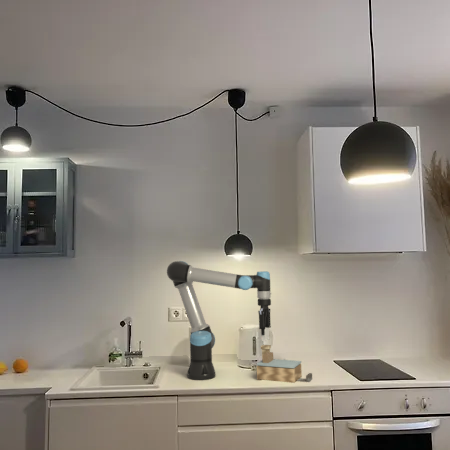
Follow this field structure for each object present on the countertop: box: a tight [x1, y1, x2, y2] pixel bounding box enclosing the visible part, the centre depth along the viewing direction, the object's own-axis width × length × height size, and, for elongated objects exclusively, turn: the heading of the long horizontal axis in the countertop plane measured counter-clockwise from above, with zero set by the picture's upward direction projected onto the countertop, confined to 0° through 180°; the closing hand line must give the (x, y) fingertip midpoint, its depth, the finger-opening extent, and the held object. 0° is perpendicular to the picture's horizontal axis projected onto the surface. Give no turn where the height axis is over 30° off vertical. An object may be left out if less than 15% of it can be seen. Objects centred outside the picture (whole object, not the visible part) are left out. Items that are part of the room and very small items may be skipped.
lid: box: [256, 351, 302, 368], centre depth 233 cm, size 20×13×5 cm, turn 64°
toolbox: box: [256, 363, 313, 384], centre depth 231 cm, size 26×13×7 cm, turn 64°
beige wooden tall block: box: [260, 344, 272, 361], centre depth 252 cm, size 4×4×14 cm
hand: (265, 340), depth 253 cm, fingers open, 4 cm apart
